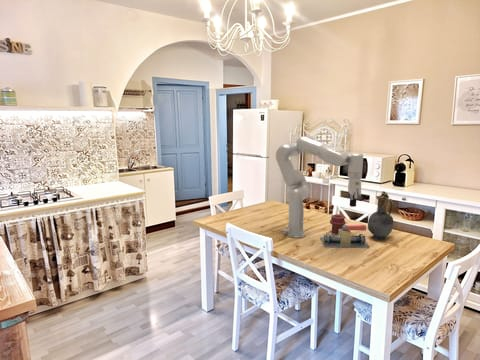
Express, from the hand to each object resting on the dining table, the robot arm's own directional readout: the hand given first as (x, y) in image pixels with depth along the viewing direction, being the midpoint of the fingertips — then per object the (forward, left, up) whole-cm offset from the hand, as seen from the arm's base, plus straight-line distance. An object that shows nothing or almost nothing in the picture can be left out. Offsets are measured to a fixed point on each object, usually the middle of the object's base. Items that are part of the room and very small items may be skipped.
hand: (352, 206), depth 185 cm
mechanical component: (-2, +24, -25) cm, 35 cm away
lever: (+3, +7, -17) cm, 18 cm away
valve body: (-2, +6, -25) cm, 26 cm away
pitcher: (+24, +17, -25) cm, 39 cm away
